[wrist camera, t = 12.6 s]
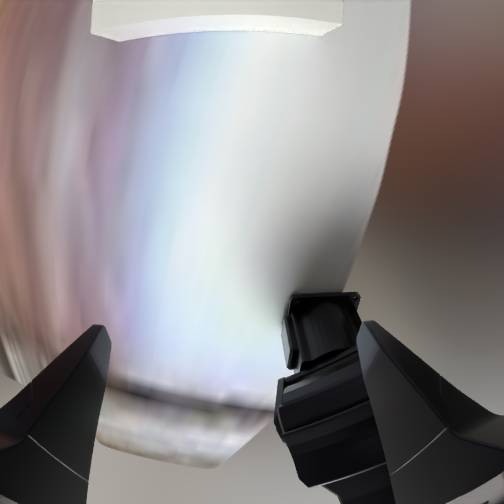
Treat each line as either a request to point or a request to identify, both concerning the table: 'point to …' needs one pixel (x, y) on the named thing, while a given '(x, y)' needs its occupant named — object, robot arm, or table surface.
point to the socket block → (212, 17)
